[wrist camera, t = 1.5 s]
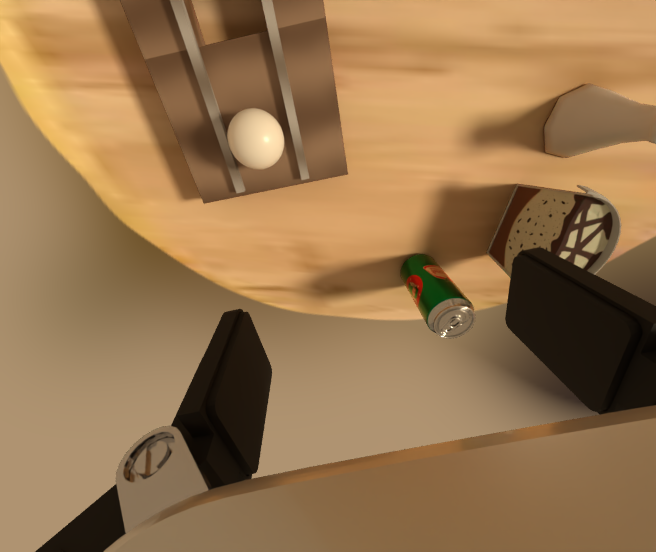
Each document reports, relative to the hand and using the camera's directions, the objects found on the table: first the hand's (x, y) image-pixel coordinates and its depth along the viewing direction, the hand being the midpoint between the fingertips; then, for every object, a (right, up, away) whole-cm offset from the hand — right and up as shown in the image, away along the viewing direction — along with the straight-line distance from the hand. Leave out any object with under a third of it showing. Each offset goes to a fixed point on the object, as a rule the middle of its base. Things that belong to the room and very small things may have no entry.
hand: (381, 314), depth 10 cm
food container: (+24, +8, +27) cm, 37 cm away
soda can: (+11, +2, +29) cm, 31 cm away
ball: (-8, +14, +15) cm, 22 cm away
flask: (+26, +19, +21) cm, 38 cm away
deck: (-10, +22, +17) cm, 29 cm away
